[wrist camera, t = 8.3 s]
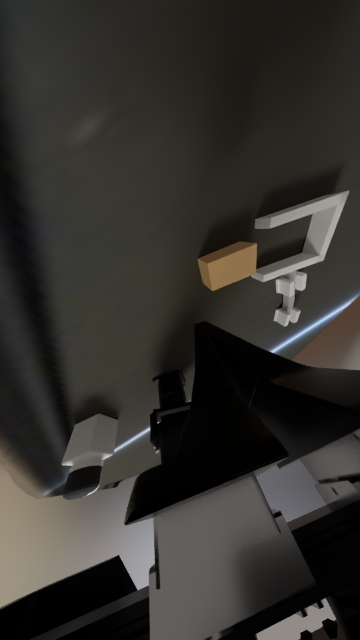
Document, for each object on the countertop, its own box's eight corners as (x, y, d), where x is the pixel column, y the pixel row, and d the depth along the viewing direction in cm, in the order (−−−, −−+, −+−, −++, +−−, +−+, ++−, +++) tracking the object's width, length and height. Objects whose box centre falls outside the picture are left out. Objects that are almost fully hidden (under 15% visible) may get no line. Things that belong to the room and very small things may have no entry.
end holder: (305, 257, 21) (323, 260, 19) (251, 277, 21) (262, 282, 19) (324, 195, 17) (349, 190, 15) (255, 219, 16) (271, 217, 14)
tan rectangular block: (239, 267, 20) (255, 273, 17) (202, 282, 20) (212, 291, 17) (238, 241, 17) (256, 243, 15) (197, 258, 17) (207, 263, 15)
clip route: (286, 317, 28) (297, 323, 26) (267, 324, 28) (276, 331, 26) (303, 259, 21) (319, 261, 19) (277, 268, 21) (291, 272, 19)
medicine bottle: (74, 424, 33) (45, 505, 23) (98, 412, 32) (80, 490, 22) (96, 430, 37) (80, 501, 27) (118, 419, 36) (109, 488, 27)
